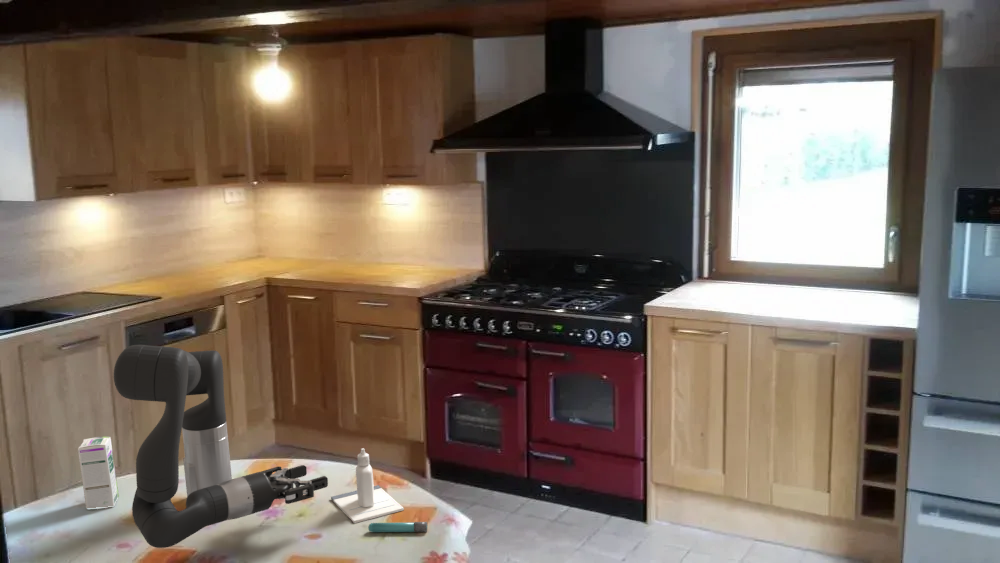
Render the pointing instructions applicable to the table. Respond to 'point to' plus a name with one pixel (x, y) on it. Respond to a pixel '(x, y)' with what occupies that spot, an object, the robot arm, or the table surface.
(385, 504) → the notepad
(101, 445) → the syrup box
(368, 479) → the white tapered bottle shape
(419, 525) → the marker
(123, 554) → the table surface
